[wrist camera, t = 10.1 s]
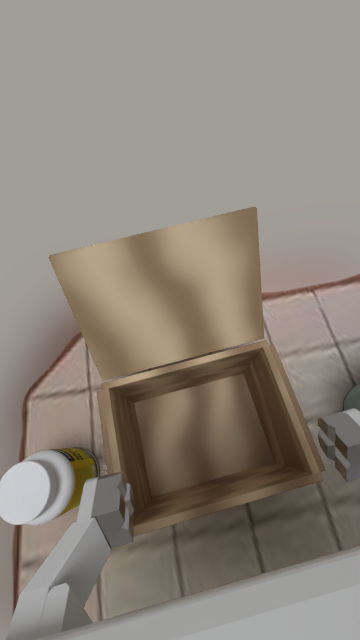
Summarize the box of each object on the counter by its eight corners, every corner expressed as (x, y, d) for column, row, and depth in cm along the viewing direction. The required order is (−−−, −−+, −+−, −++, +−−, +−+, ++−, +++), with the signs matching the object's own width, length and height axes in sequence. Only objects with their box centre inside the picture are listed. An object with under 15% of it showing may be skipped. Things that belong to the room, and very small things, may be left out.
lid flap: (264, 338, 26) (260, 334, 27) (256, 207, 21) (253, 206, 21) (102, 380, 26) (103, 376, 26) (48, 257, 20) (50, 254, 20)
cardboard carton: (249, 367, 37) (271, 338, 26) (284, 464, 33) (329, 478, 22) (125, 400, 37) (95, 385, 26) (143, 505, 32) (116, 541, 21)
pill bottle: (102, 446, 35) (64, 450, 24) (98, 504, 32) (53, 536, 22) (53, 447, 35) (-5, 452, 25) (45, 505, 32) (-23, 537, 22)
